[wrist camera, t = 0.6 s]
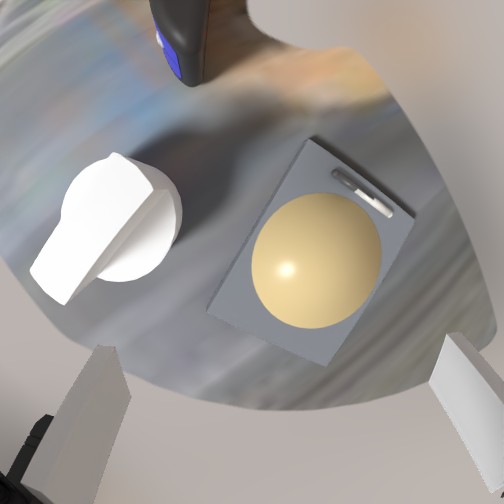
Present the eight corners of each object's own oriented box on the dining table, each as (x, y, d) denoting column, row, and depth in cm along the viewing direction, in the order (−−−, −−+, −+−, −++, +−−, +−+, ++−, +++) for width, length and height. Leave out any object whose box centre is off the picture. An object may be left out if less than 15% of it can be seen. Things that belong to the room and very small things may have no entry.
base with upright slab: (139, 282, 28) (100, 342, 16) (71, 218, 25) (-3, 240, 14) (203, 209, 27) (201, 225, 15) (131, 143, 25) (81, 114, 13)
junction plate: (304, 140, 27) (312, 137, 25) (409, 219, 30) (420, 221, 28) (206, 307, 29) (206, 316, 27) (321, 361, 32) (328, 370, 30)
